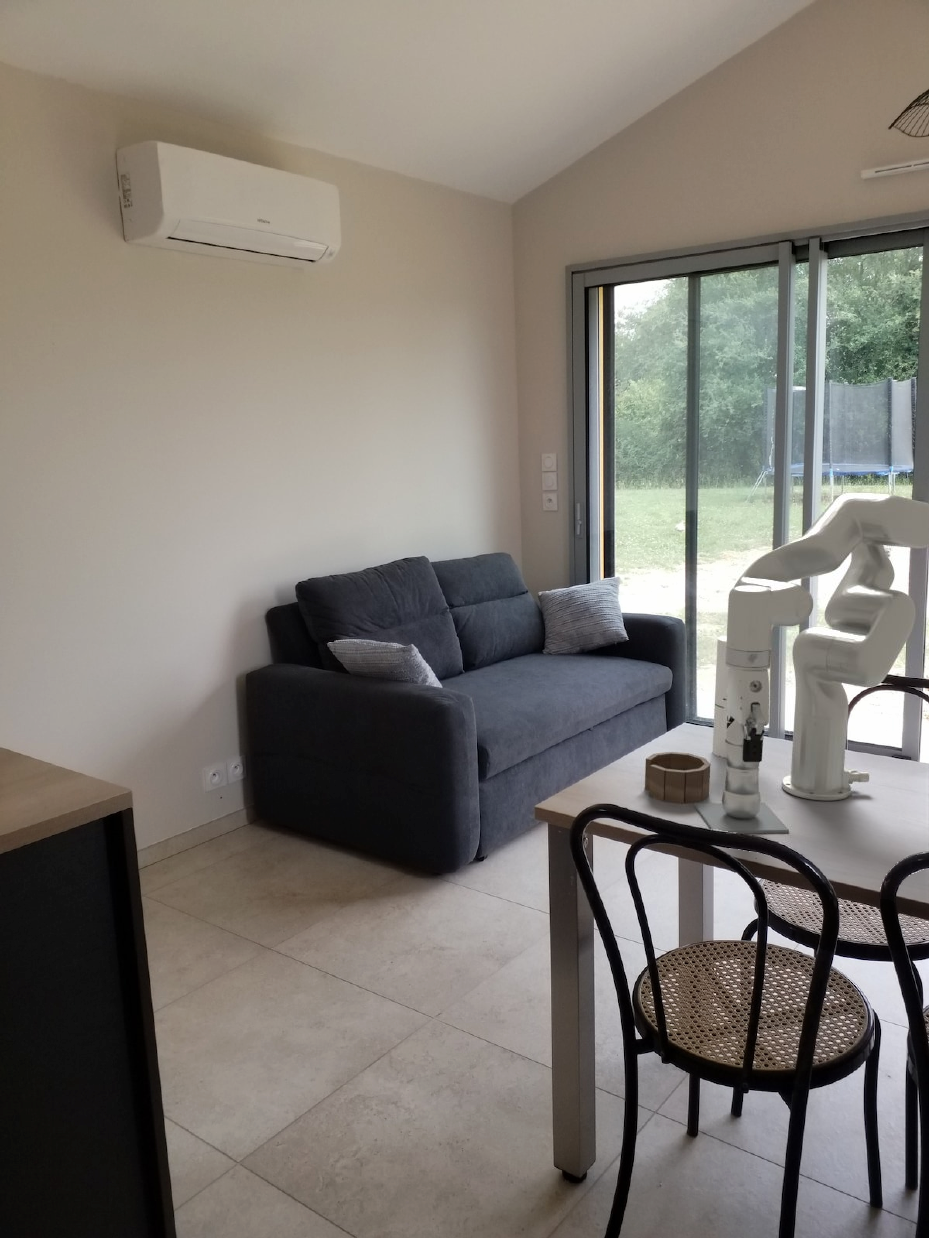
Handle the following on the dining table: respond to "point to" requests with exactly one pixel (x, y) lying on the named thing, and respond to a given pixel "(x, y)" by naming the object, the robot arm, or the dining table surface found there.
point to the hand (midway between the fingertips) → (743, 752)
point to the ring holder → (677, 777)
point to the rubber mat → (741, 820)
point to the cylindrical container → (720, 699)
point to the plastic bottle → (740, 777)
